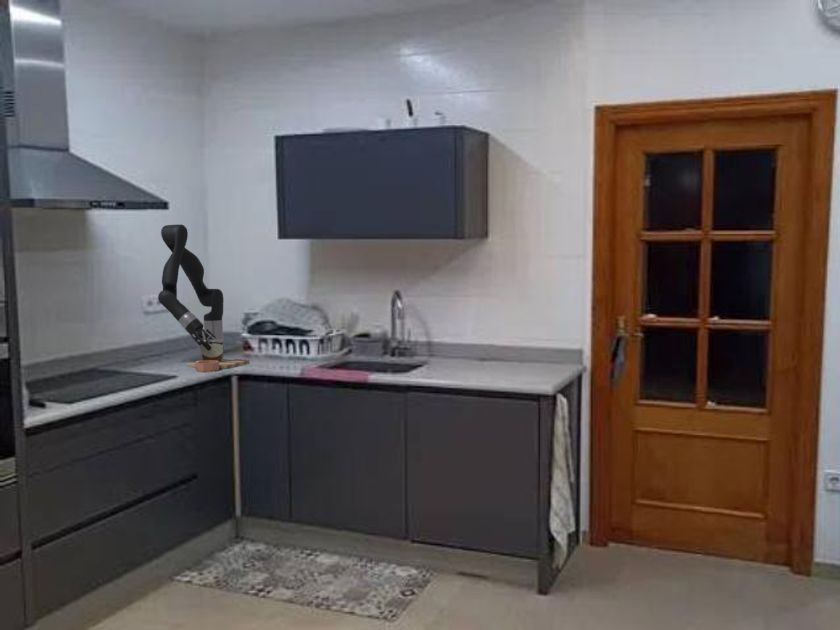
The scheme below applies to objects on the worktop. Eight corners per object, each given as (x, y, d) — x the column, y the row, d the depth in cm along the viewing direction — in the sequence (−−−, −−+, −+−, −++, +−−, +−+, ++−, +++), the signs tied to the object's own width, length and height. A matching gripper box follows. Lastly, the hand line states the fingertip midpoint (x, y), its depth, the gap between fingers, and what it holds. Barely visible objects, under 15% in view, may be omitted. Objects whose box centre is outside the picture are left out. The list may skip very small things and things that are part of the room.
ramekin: (205, 368, 372) (204, 359, 372) (223, 369, 368) (223, 360, 368) (191, 371, 363) (190, 363, 363) (209, 373, 359) (209, 364, 359)
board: (210, 361, 394) (210, 357, 394) (249, 363, 386) (249, 359, 385) (186, 366, 377) (186, 362, 377) (226, 368, 369) (226, 364, 369)
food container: (229, 360, 385) (228, 339, 384) (225, 362, 379) (224, 340, 378) (204, 360, 386) (203, 339, 385) (199, 362, 380) (198, 340, 379)
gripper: (188, 319, 375) (212, 344, 374) (203, 316, 389) (226, 340, 388) (178, 330, 377) (202, 356, 375) (193, 327, 391) (216, 351, 389)
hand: (214, 348), depth 382 cm, fingers open, 8 cm apart
